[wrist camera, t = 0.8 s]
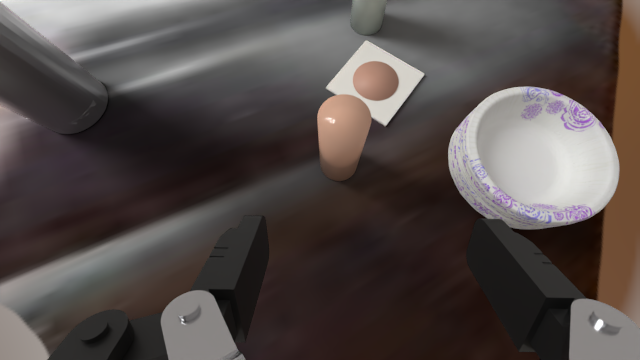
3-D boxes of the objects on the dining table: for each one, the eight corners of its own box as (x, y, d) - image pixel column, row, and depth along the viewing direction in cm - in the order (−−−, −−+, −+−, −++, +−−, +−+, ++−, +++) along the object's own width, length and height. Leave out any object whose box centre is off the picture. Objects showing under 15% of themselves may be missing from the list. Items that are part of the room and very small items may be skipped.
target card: (325, 88, 40) (325, 86, 39) (365, 41, 42) (366, 39, 42) (385, 126, 38) (386, 125, 38) (424, 75, 40) (425, 73, 40)
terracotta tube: (312, 166, 36) (306, 123, 25) (334, 139, 38) (338, 85, 26) (342, 188, 36) (350, 152, 24) (364, 159, 37) (381, 112, 25)
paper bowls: (555, 127, 37) (613, 92, 30) (564, 242, 33) (635, 236, 26) (439, 112, 38) (467, 75, 31) (434, 222, 34) (465, 211, 27)
